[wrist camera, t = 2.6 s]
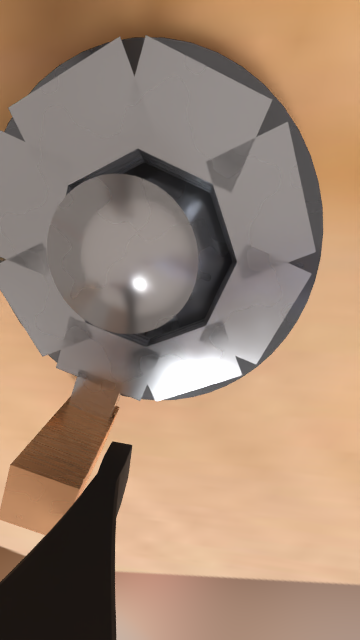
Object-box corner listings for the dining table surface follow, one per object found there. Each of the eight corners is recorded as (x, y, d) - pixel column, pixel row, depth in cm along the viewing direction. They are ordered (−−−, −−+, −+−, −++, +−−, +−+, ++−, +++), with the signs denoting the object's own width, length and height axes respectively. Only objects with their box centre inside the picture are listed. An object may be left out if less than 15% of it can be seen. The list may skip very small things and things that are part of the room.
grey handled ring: (41, 10, 7) (-174, -340, 3) (358, 170, 7) (544, 71, 3) (-19, 403, 11) (-127, 478, 7) (177, 476, 12) (170, 579, 8)
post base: (359, 165, 9) (595, 34, 4) (223, 409, 13) (244, 511, 8) (50, 24, 8) (-199, -387, 3) (8, 329, 12) (-130, 382, 7)
